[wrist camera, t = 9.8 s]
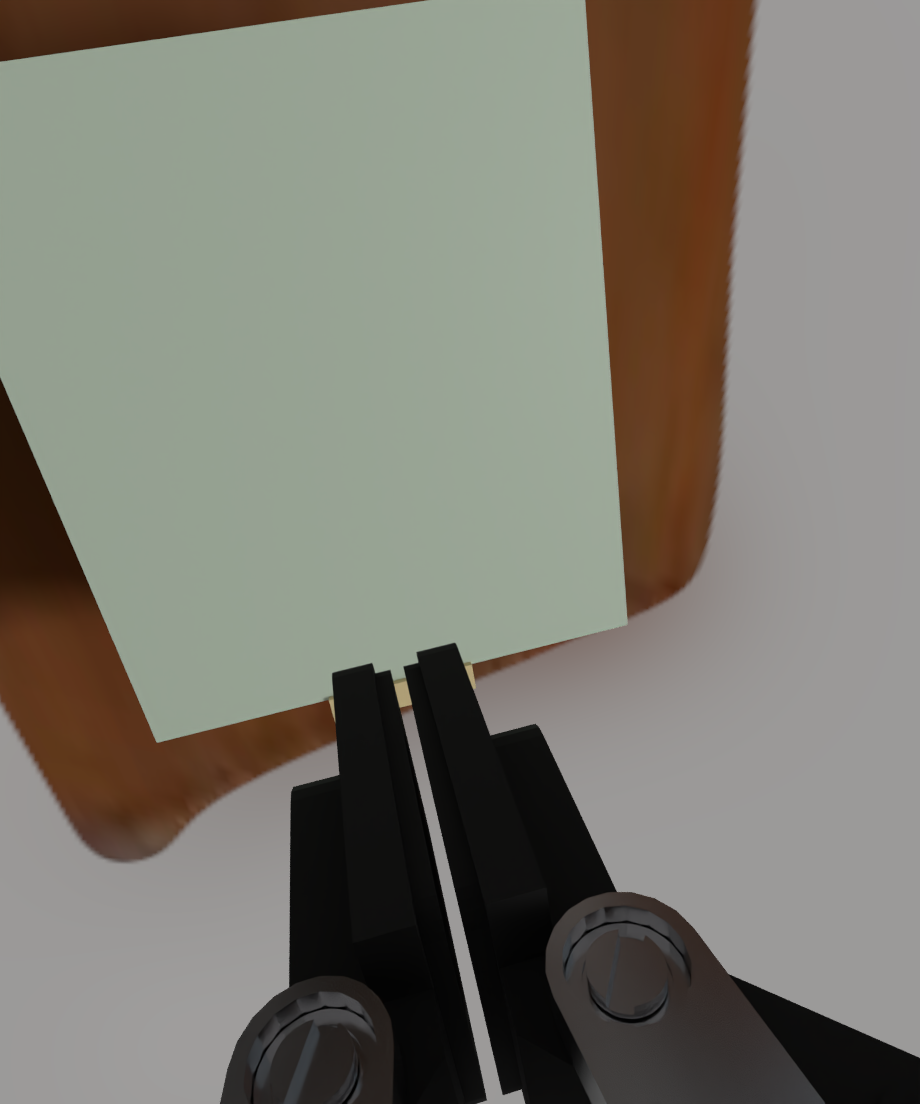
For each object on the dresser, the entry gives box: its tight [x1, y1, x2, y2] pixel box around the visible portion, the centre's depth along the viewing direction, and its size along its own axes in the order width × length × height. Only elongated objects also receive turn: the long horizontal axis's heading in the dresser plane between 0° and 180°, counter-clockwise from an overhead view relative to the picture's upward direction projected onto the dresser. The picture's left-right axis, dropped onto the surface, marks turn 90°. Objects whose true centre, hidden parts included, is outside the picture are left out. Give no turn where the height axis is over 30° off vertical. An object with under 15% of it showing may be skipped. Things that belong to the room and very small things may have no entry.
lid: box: [0, 0, 627, 743], centre depth 23 cm, size 20×17×3 cm
